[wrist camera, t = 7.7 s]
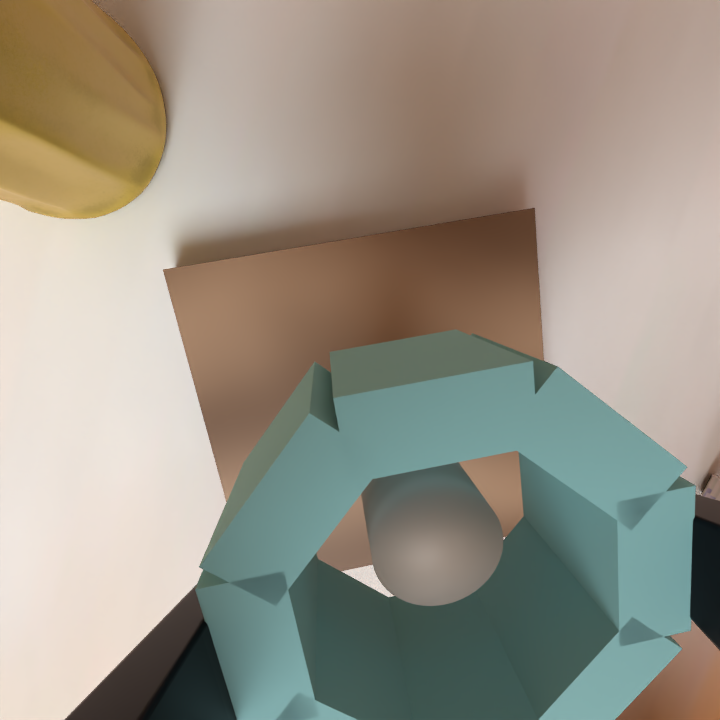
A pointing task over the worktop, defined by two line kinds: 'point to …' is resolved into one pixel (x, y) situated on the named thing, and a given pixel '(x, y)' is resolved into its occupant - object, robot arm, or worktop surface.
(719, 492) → the caliper
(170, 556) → the worktop surface
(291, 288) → the post stand
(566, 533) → the ring
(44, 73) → the vase
